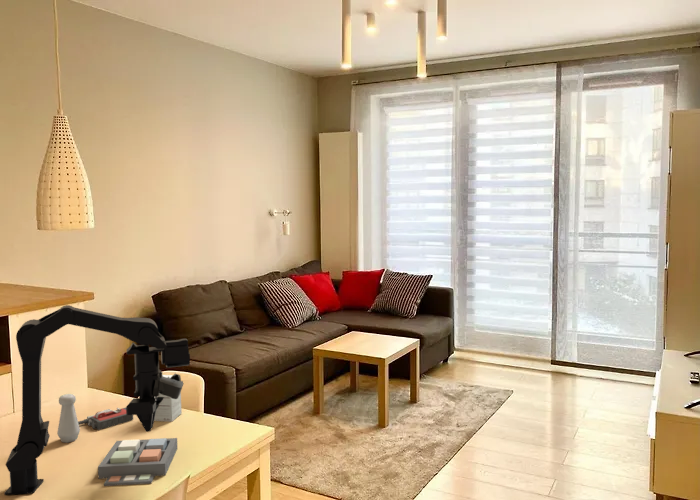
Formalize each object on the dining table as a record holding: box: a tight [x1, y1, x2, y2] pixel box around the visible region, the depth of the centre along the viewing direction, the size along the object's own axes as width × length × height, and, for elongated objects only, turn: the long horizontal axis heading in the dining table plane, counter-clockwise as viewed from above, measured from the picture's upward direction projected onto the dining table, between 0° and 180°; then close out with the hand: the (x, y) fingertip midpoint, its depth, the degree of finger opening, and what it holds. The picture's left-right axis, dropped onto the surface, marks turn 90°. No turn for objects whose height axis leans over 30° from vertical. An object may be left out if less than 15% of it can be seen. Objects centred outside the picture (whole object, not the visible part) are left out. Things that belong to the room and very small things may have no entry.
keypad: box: [97, 437, 178, 487], centre depth 153 cm, size 20×16×3 cm
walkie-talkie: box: [78, 407, 134, 431], centre depth 182 cm, size 9×4×20 cm
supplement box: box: [154, 374, 182, 423], centre depth 188 cm, size 7×7×13 cm
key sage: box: [110, 450, 133, 464], centre depth 151 cm, size 4×4×2 cm
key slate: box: [146, 437, 167, 450], centre depth 159 cm, size 4×4×2 cm
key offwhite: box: [118, 439, 141, 451], centre depth 158 cm, size 4×4×2 cm
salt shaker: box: [56, 393, 81, 444], centre depth 170 cm, size 6×6×13 cm
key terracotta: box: [139, 449, 161, 462], centre depth 152 cm, size 4×4×2 cm
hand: (149, 429), depth 151 cm, fingers closed
